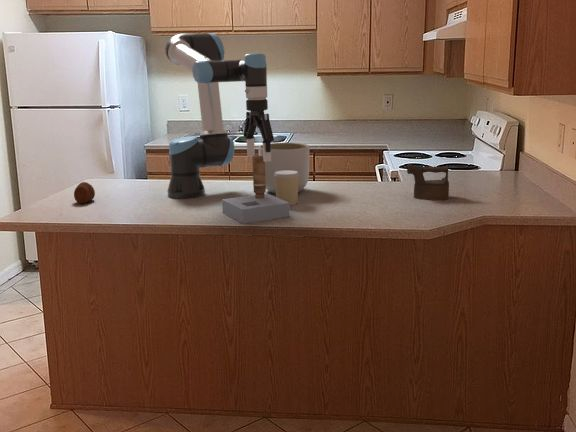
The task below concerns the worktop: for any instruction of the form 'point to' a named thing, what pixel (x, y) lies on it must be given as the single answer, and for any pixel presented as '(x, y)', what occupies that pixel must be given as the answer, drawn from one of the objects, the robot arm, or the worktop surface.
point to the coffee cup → (287, 185)
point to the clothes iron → (429, 183)
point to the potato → (84, 193)
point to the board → (255, 208)
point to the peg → (259, 176)
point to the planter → (287, 163)
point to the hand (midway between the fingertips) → (259, 159)
